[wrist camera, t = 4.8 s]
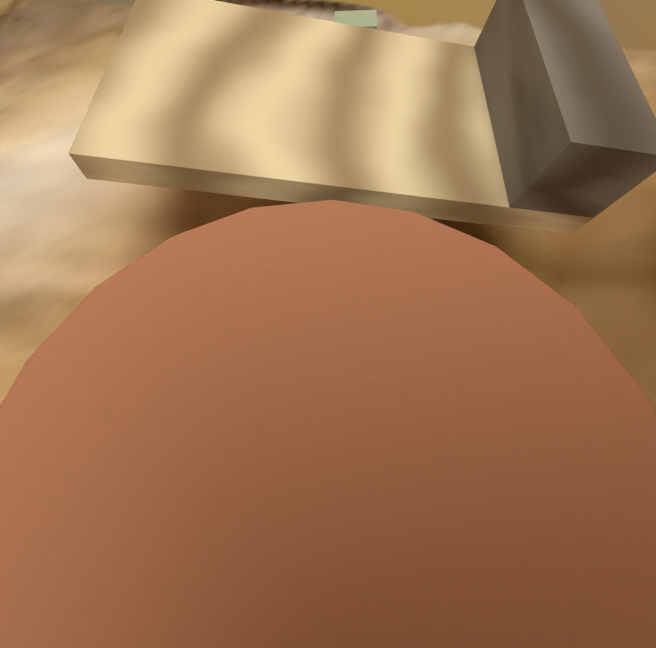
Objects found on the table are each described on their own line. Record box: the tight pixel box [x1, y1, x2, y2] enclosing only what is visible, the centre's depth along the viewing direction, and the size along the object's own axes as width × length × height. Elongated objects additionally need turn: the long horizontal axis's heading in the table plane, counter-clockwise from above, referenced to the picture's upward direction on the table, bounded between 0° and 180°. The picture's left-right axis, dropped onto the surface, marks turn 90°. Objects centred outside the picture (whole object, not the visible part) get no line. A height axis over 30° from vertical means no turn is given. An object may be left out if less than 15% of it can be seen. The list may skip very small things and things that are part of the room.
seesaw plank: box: [69, 0, 656, 234], centre depth 19 cm, size 27×16×7 cm, turn 88°
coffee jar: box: [0, 200, 656, 648], centre depth 13 cm, size 11×11×18 cm
